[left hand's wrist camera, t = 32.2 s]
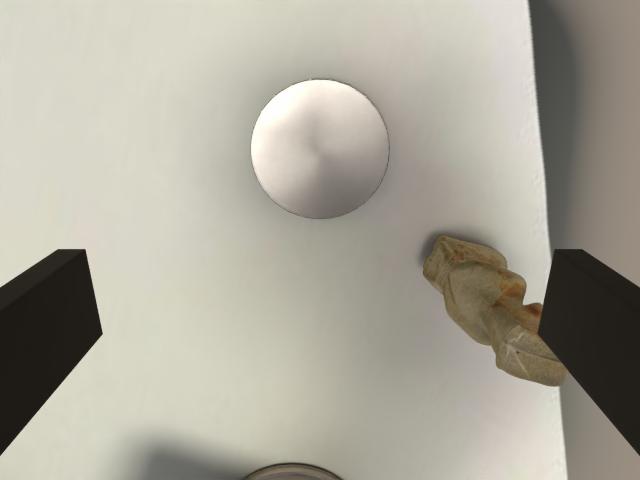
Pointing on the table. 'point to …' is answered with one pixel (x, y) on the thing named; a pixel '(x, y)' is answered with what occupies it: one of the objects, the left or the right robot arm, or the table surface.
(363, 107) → the lid
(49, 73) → the table surface
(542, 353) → the sculpture
